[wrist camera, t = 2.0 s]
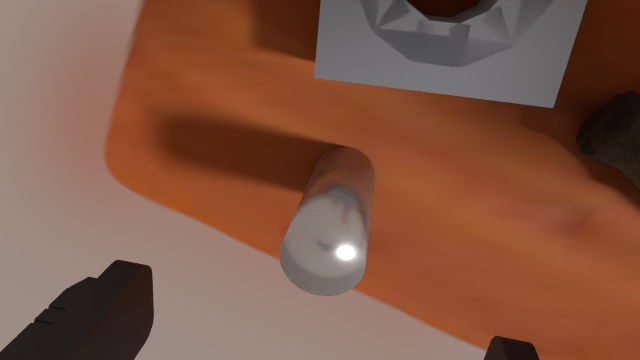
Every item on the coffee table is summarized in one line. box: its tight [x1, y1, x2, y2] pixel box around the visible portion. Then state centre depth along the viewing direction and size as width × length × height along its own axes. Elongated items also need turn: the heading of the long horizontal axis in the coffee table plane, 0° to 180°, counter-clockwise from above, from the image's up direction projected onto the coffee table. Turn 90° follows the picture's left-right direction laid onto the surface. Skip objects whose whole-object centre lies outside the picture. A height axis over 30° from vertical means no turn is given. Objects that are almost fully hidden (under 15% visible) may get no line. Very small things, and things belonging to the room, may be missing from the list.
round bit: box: [280, 147, 375, 296], centre depth 25 cm, size 4×4×10 cm
